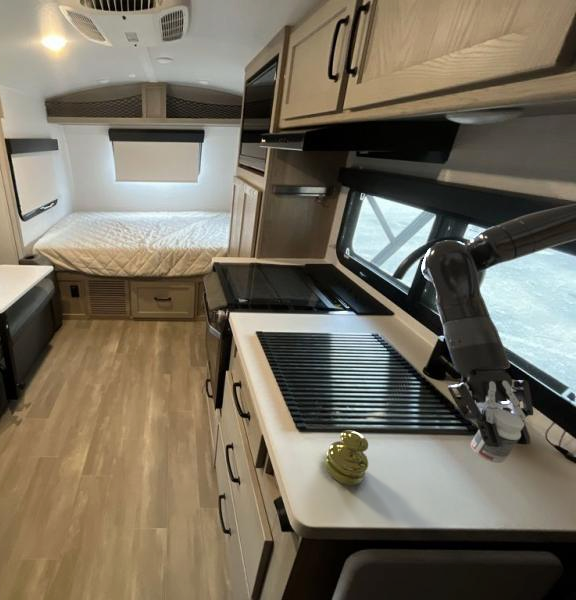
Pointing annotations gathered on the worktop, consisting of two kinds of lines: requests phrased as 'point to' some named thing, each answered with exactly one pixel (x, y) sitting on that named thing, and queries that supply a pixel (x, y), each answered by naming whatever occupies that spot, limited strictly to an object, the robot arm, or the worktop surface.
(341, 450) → the gold metal rounded figure
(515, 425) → the pill bottle
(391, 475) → the worktop surface
